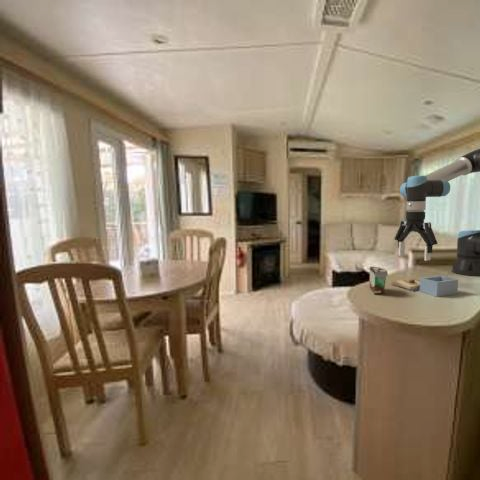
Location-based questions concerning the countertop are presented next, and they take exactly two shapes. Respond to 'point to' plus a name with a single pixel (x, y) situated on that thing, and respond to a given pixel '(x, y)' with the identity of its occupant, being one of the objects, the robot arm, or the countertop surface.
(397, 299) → the countertop surface
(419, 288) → the mat
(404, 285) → the lid
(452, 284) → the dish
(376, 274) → the food container
